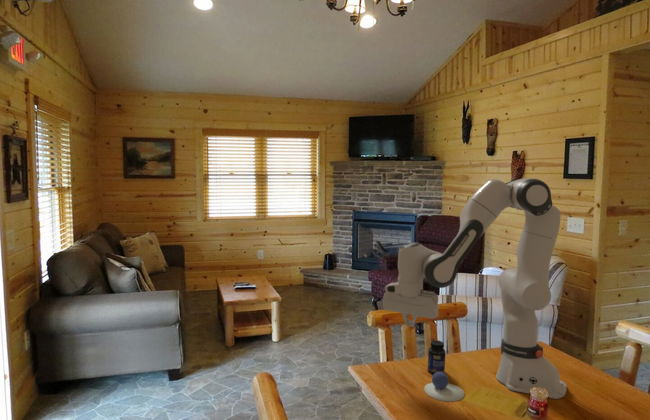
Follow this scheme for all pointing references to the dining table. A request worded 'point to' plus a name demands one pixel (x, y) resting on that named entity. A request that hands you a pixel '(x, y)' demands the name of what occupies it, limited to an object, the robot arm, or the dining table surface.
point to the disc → (444, 392)
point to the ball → (440, 380)
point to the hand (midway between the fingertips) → (409, 325)
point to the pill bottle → (436, 357)
